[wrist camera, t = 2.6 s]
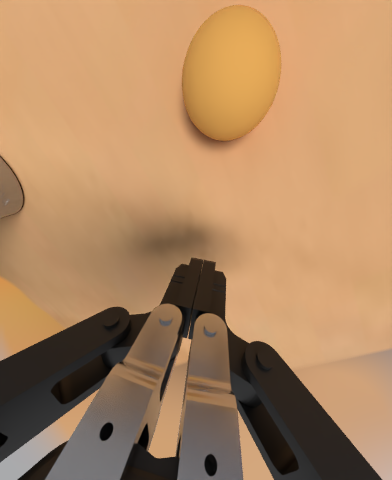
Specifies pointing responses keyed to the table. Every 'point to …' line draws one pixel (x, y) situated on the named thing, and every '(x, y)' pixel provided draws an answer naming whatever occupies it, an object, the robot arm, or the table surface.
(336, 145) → the table surface
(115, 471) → the robot arm
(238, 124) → the ball
